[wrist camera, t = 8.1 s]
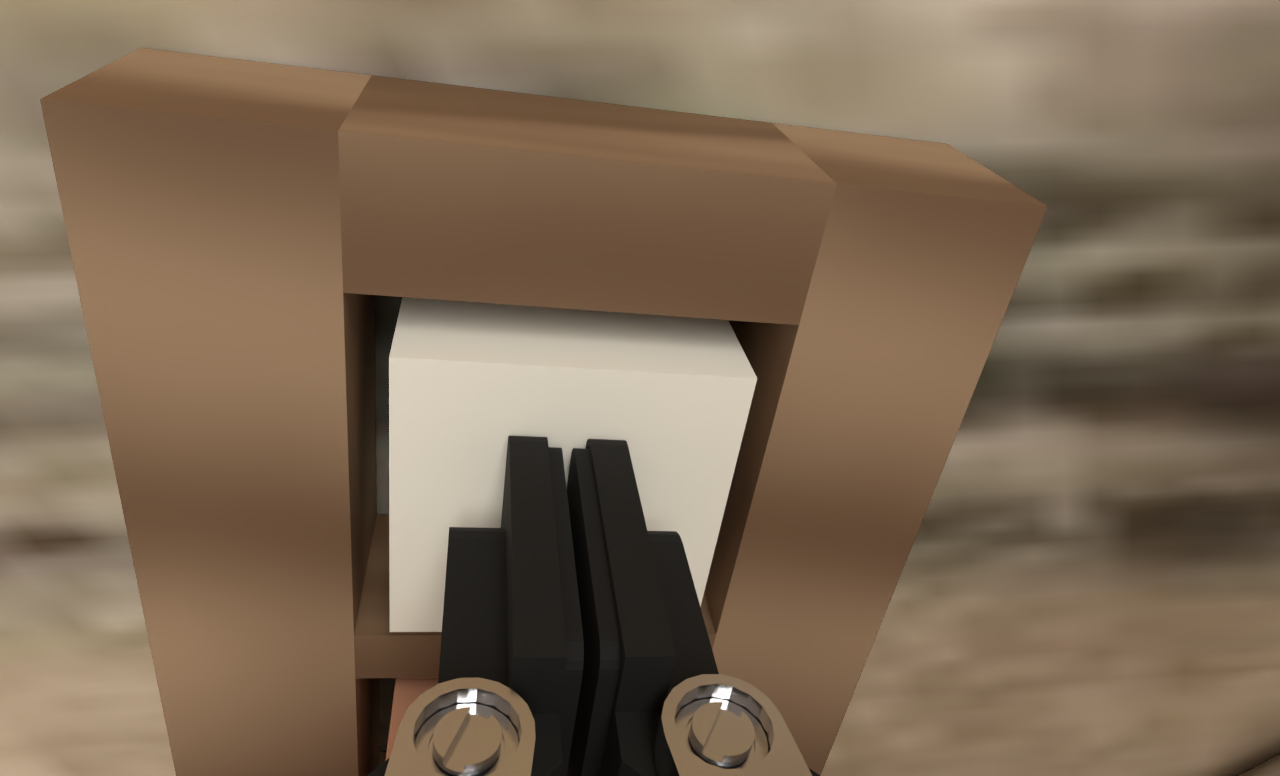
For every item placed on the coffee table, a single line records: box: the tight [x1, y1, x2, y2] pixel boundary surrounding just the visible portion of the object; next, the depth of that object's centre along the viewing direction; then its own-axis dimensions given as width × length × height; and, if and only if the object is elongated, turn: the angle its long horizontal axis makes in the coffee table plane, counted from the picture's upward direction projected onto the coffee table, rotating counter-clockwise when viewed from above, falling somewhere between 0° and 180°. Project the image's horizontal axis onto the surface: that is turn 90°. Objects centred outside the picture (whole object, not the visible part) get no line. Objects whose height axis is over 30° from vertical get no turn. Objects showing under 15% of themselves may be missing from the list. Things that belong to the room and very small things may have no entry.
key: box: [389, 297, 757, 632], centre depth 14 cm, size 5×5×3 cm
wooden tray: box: [40, 48, 1048, 776], centre depth 17 cm, size 24×12×3 cm, turn 172°
